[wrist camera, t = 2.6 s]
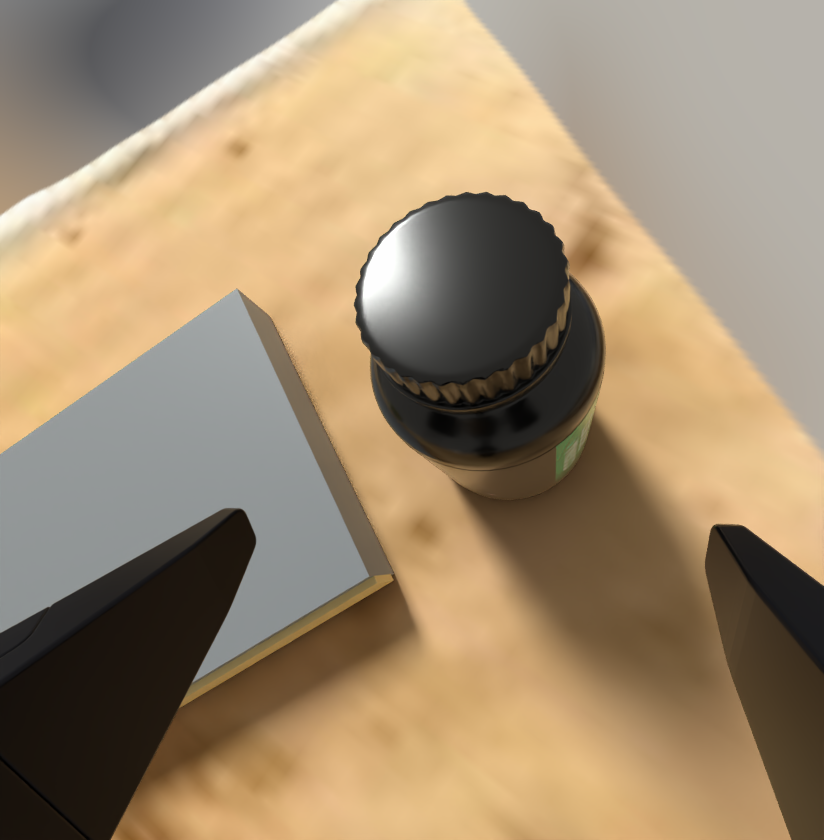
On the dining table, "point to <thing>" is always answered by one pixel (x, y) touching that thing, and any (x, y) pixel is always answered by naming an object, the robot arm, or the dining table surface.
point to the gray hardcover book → (192, 487)
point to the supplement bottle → (482, 343)
